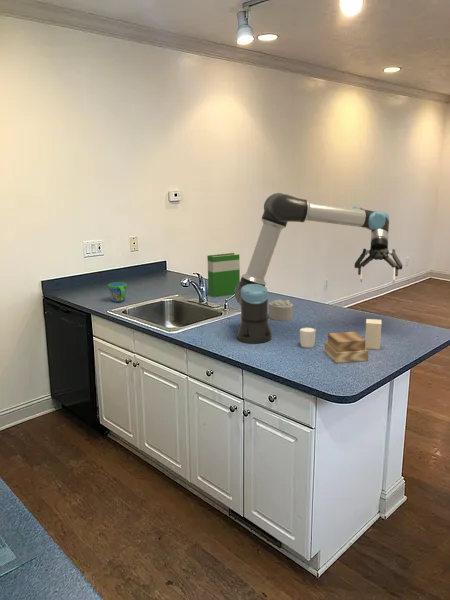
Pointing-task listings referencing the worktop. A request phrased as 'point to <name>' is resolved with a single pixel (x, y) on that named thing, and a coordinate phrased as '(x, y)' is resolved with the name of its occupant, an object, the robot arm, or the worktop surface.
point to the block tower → (346, 347)
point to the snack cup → (117, 291)
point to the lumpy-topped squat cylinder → (281, 310)
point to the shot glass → (307, 337)
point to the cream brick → (373, 334)
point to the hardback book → (223, 274)
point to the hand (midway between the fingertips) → (377, 281)
